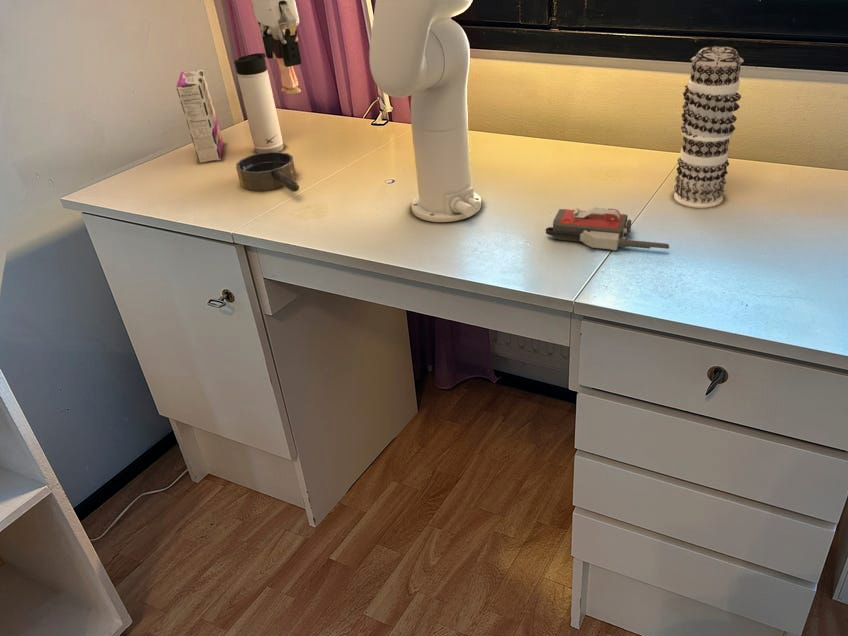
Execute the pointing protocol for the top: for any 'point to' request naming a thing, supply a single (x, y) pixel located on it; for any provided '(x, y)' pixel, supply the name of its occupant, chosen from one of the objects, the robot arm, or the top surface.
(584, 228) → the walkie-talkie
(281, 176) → the pan handle
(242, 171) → the pan
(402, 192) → the top surface
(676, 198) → the white patterned cylinder
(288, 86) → the grandmother figurine
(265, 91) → the travel mug
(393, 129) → the top surface
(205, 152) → the candy bar box
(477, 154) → the top surface
